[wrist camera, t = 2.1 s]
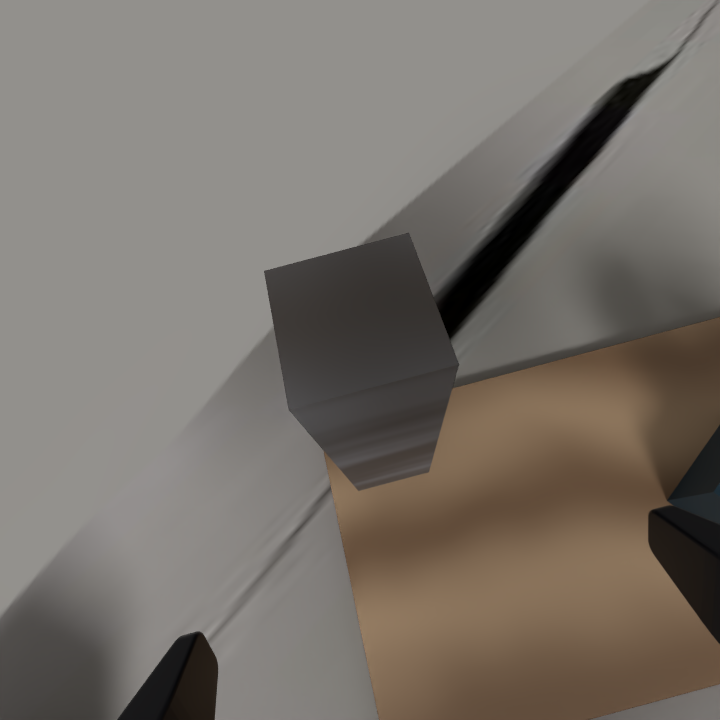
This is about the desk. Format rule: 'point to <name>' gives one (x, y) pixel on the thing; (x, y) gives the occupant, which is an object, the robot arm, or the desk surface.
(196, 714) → the robot arm
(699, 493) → the watch
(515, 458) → the pull board
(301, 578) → the desk surface
